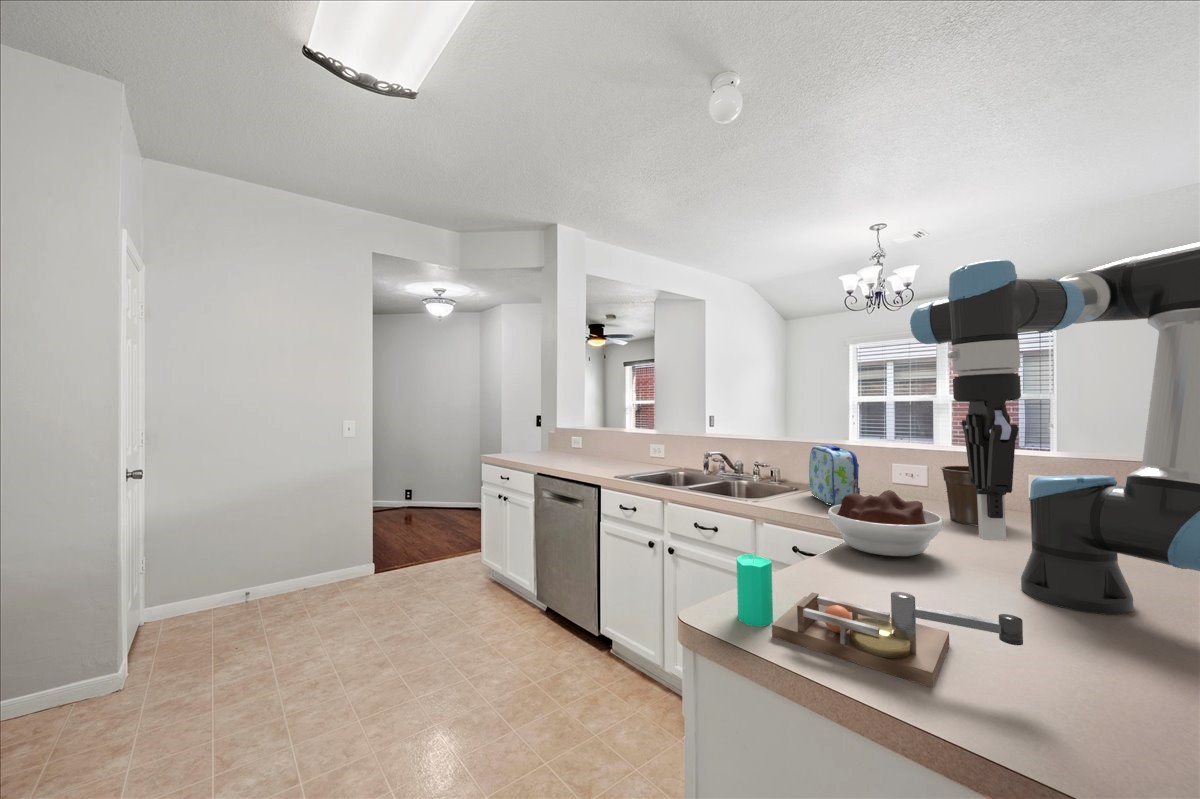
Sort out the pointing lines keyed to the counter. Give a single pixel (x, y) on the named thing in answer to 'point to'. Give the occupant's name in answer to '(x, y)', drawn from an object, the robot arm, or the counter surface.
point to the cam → (901, 630)
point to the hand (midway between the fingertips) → (992, 538)
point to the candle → (754, 590)
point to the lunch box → (833, 473)
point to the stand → (812, 632)
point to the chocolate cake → (885, 524)
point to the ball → (839, 612)
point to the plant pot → (961, 494)
